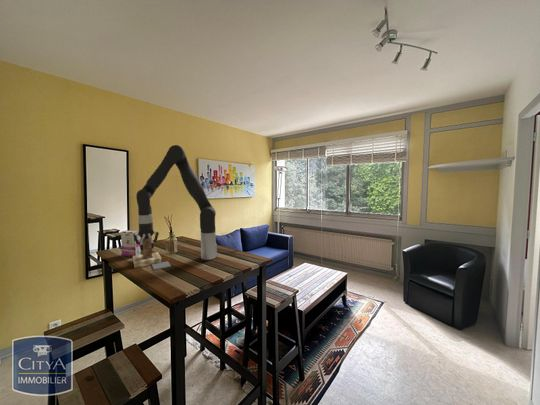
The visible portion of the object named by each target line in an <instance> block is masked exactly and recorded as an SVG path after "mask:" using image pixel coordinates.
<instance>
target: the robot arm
mask: <svg viewBox="0 0 540 405" xmlns="http://www.w3.org/2000/svg"><path fill="white" fill-rule="evenodd" d="M174 165H175V166H176V167H177V169H178V171H179V174H180V177H181V180H182V182H183V184H184V185H183V186H184V187H185V188H186V190H187V192H188V194H189V195H190V196H191V197H192V199H193V200H194V201H195V202H196V203H195V204H197V206H198V208H199V212H200V213H199V228H200V259H201V260H204V261H210V260H211V261H212V260H214V259H216V257H217V258H218V247H217V246H218V245H217V243H216V241H217V240H216V239H217V238H216V214H217V213H216V210H215V208H214V207H213V205H212V204H211V202H210V200H209V199H208V197H207V195H206V191H205V189H204V187H203V185H202V183H201V181H200V179H199V177H198V175H197V174H196V172H195V171H194V169H193V168H192V167H191V164H190V163H189V161H188V157H187V154H186V152H185V150H184V149H183V147H182V146H180V145H178V144H174V145H171V146H170V147H169V148H168V150H167V151H166V154H165V155H164V157H163V159H162V160H161V163H160V164H159V166H158V167H156V169H155V170H154V172H152V174H151V175H150V177H149V178H148V179H147V180H146V182H145V185H144V186H143V187H142V188H140V189H139V190H138V191H137V193H136V203H137V207H138V210H137V213H138V214H137V215H138V217H137V219H138V220H137V221H138V222H137V223H138V231H139V232H138V234H134V235H133V236H134V239H135V241H136V244H139V245H140V250H141V252H143V239H147V238H151V245H152V250H153V249H154V248H155V246H154V243H156V242H157V241H158V237H159V234H160V233H159V232H158V231H154V222H153V211H152V210H153V209H152V206H151V198H152V197H153V195H155V192H156V191H157V189H158V188H159V187H160V186H161V184H163V182H164V180H165V179H166V177H167V175H168V174H169V172H170V171H171V170H172V168H173V167H174ZM138 235H139V236H140V242H138V240H137V237H138ZM153 235H154V237H152V236H153ZM153 238H154V239H153Z"/></svg>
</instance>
